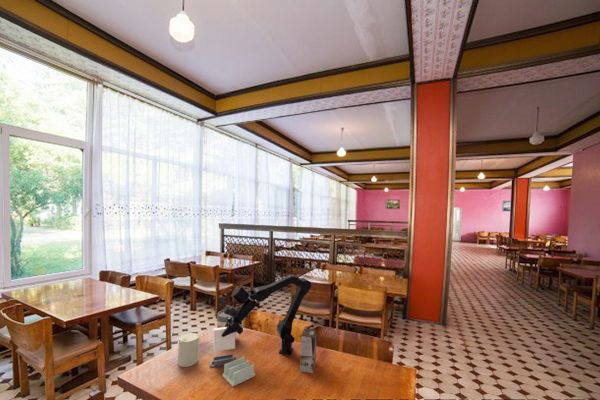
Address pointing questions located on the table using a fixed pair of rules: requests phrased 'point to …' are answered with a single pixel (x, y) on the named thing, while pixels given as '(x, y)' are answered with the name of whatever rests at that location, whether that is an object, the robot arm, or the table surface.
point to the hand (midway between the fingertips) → (221, 335)
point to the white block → (223, 340)
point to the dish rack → (238, 371)
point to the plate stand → (222, 360)
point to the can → (188, 349)
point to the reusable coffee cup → (222, 320)
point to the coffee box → (308, 350)
